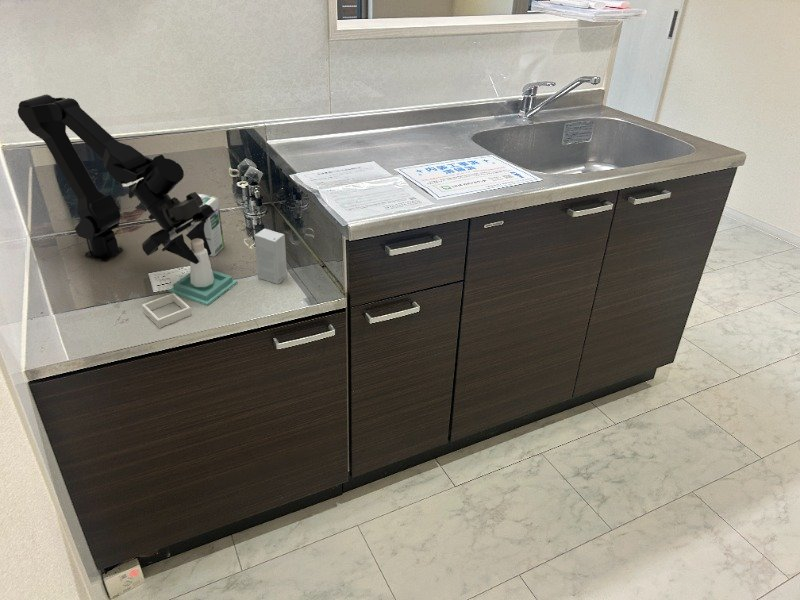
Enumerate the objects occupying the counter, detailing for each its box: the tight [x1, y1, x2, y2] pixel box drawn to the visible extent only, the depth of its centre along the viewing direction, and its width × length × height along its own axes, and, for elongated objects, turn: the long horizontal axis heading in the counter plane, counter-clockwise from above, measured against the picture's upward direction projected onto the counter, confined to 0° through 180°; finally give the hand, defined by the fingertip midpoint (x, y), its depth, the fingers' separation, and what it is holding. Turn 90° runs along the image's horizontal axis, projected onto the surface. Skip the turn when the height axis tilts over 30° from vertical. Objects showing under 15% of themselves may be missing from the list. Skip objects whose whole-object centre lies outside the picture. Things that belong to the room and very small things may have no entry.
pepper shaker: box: [189, 238, 214, 287], centre depth 139 cm, size 5×5×11 cm
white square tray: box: [141, 293, 192, 329], centre depth 133 cm, size 8×8×2 cm
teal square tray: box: [168, 269, 238, 307], centre depth 142 cm, size 11×11×2 cm
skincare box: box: [253, 228, 288, 285], centre depth 145 cm, size 6×4×12 cm
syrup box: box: [197, 193, 225, 258], centre depth 153 cm, size 6×6×14 cm
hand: (203, 258), depth 138 cm, fingers closed on pepper shaker, 4 cm apart
